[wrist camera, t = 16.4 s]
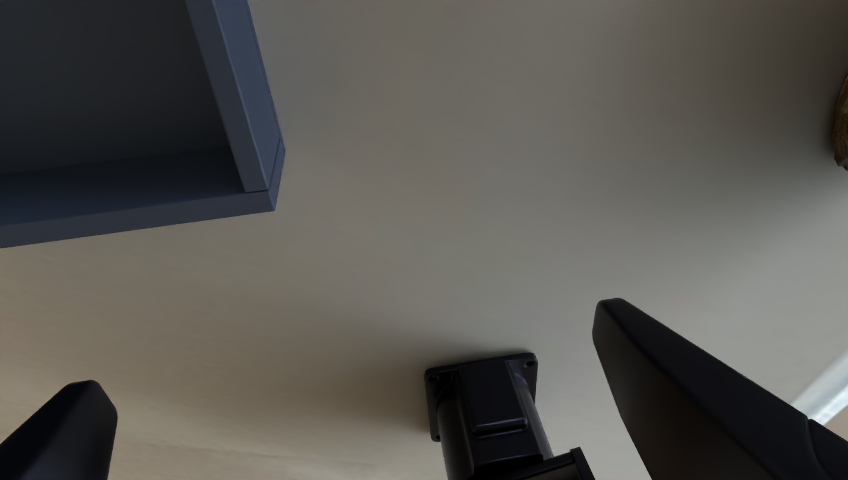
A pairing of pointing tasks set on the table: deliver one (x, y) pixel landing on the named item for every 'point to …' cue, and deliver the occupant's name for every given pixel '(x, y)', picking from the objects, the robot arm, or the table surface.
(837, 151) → the pottery vessel
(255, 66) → the bin
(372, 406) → the table surface
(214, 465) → the table surface
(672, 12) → the table surface
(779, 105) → the table surface
